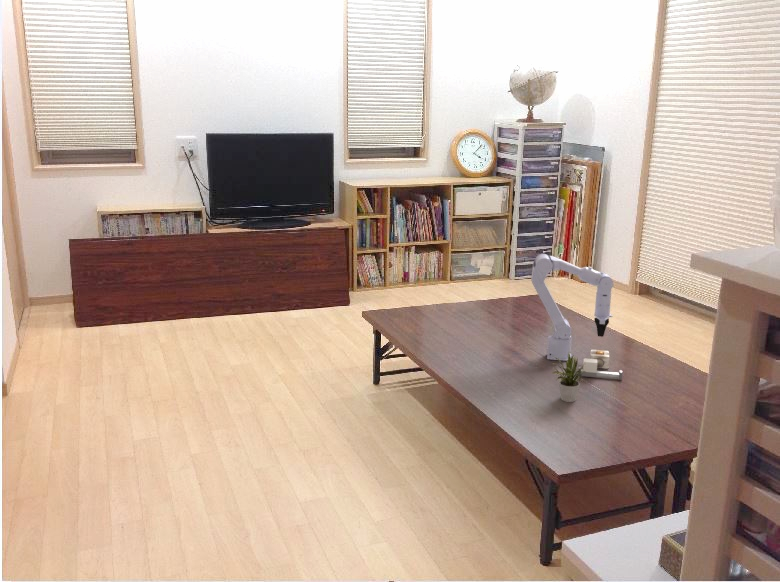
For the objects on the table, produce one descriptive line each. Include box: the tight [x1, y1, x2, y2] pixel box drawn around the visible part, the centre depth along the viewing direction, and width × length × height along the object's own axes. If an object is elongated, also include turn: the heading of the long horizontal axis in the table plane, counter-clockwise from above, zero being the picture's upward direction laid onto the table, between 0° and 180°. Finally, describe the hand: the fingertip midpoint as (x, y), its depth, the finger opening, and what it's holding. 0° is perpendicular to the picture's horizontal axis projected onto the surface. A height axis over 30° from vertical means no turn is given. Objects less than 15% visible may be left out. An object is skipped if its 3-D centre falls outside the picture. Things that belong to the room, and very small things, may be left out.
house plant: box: [551, 352, 586, 403], centre depth 250 cm, size 14×14×16 cm
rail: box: [577, 365, 623, 381], centre depth 271 cm, size 16×3×3 cm, turn 75°
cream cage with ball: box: [589, 349, 610, 369], centre depth 282 cm, size 7×7×5 cm
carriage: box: [582, 357, 598, 378], centre depth 271 cm, size 5×4×6 cm
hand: (600, 336), depth 287 cm, fingers closed
